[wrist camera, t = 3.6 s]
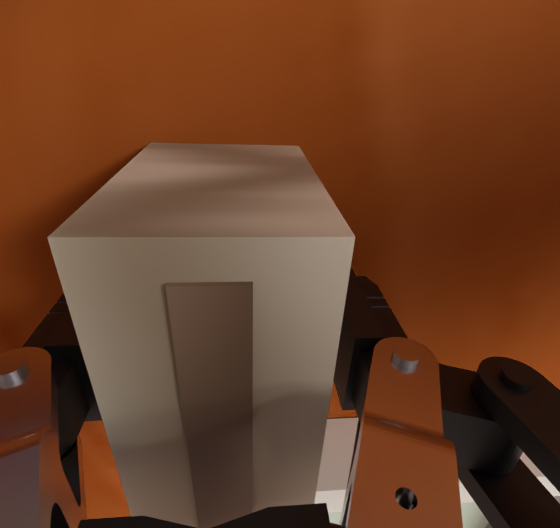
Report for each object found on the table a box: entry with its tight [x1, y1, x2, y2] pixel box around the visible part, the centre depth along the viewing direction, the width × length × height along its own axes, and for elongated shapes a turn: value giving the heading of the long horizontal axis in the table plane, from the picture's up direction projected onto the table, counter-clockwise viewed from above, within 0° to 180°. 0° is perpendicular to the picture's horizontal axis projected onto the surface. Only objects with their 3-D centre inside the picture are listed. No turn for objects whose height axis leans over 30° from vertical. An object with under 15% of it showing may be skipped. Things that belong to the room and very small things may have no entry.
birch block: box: [47, 142, 355, 528], centre depth 9 cm, size 4×8×6 cm, turn 178°
